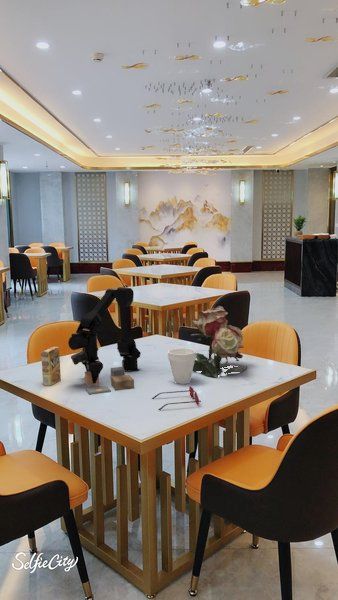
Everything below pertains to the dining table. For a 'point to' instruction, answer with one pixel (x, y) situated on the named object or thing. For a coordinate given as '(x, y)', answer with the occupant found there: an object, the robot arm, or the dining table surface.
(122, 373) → the charcoal block
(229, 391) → the dining table surface
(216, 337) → the rose bouquet
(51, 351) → the candy box
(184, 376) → the cup
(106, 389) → the card
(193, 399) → the glasses
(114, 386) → the walnut block
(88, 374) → the terracotta block
